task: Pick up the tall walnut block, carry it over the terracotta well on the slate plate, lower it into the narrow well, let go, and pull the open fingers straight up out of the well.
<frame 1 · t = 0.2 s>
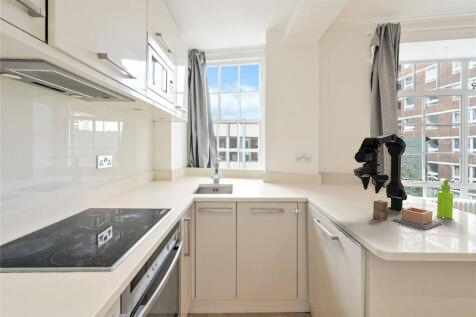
hand: (370, 191, 117), 14 cm above the worktop, fingers open, 9 cm apart
walnut block: (380, 218, 116), on the worktop
soap dispenser: (443, 217, 117), on the worktop
terracotta well: (416, 222, 109), on the worktop
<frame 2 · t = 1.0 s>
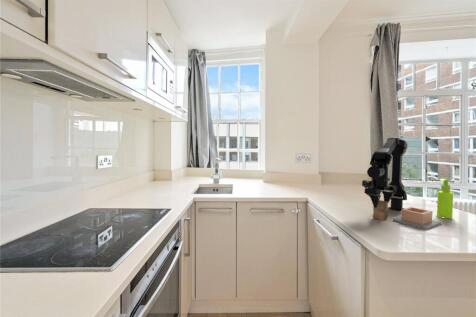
hand: (380, 206, 116), 6 cm above the worktop, fingers open, 9 cm apart
nothing on the worktop moved.
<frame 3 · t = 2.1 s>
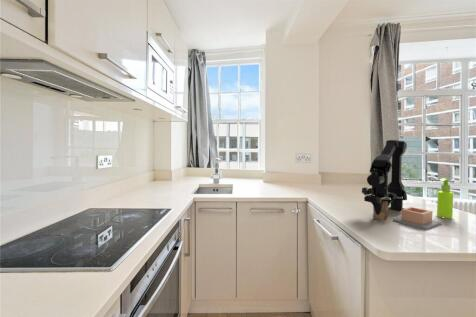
hand: (380, 213, 116), 3 cm above the worktop, fingers closed on walnut block, 4 cm apart
walnut block: (380, 218, 116), on the worktop, touching gripper
everything else where it was.
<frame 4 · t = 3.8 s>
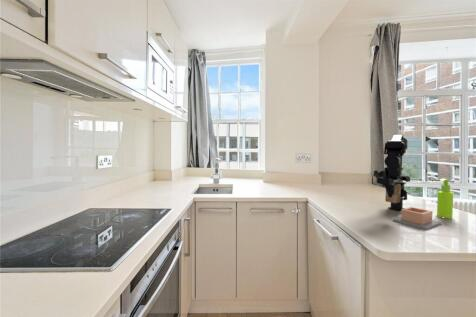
hand: (392, 196, 113), 12 cm above the worktop, fingers closed on walnut block, 4 cm apart
walnut block: (392, 201, 113), point 9 cm above the worktop, touching gripper
everything else where it was.
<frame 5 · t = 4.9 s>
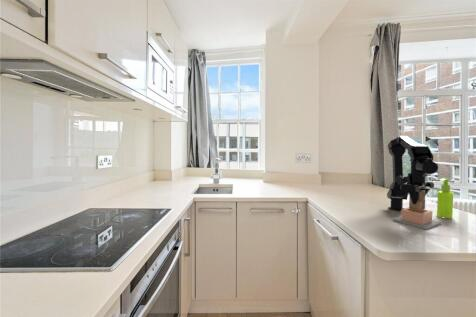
hand: (416, 203, 109), 9 cm above the worktop, fingers closed on walnut block, 4 cm apart
walnut block: (416, 208, 109), point 7 cm above the worktop, touching gripper
everything else where it was.
when the fingers open (7 cm above the worktop, at t = 5.6 s): walnut block drops 3 cm, resting on terracotta well.
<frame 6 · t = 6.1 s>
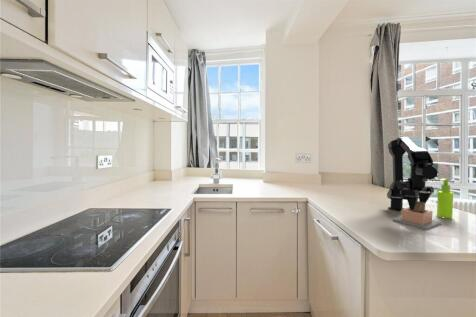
hand: (416, 208, 109), 7 cm above the worktop, fingers open, 9 cm apart
walnut block: (416, 220, 109), point 1 cm above the worktop, touching terracotta well
everything else where it was.
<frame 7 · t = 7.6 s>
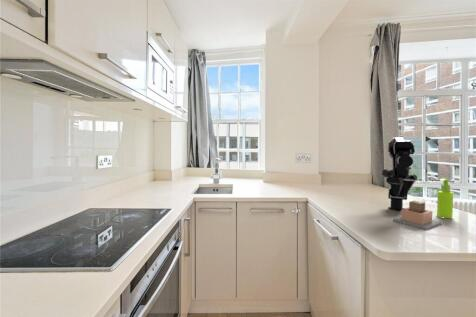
hand: (401, 194, 117), 12 cm above the worktop, fingers open, 9 cm apart
nothing on the worktop moved.
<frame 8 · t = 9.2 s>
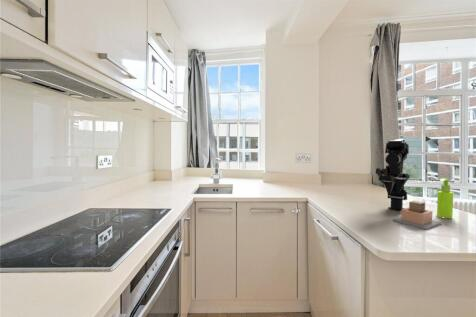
hand: (393, 192, 121), 12 cm above the worktop, fingers open, 9 cm apart
nothing on the worktop moved.
at the end: walnut block 0.0 cm off-centre on the terracotta well, point 1.0 cm above the terracotta well's base; walnut block tilted 0°; the gripper is holding nothing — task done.
